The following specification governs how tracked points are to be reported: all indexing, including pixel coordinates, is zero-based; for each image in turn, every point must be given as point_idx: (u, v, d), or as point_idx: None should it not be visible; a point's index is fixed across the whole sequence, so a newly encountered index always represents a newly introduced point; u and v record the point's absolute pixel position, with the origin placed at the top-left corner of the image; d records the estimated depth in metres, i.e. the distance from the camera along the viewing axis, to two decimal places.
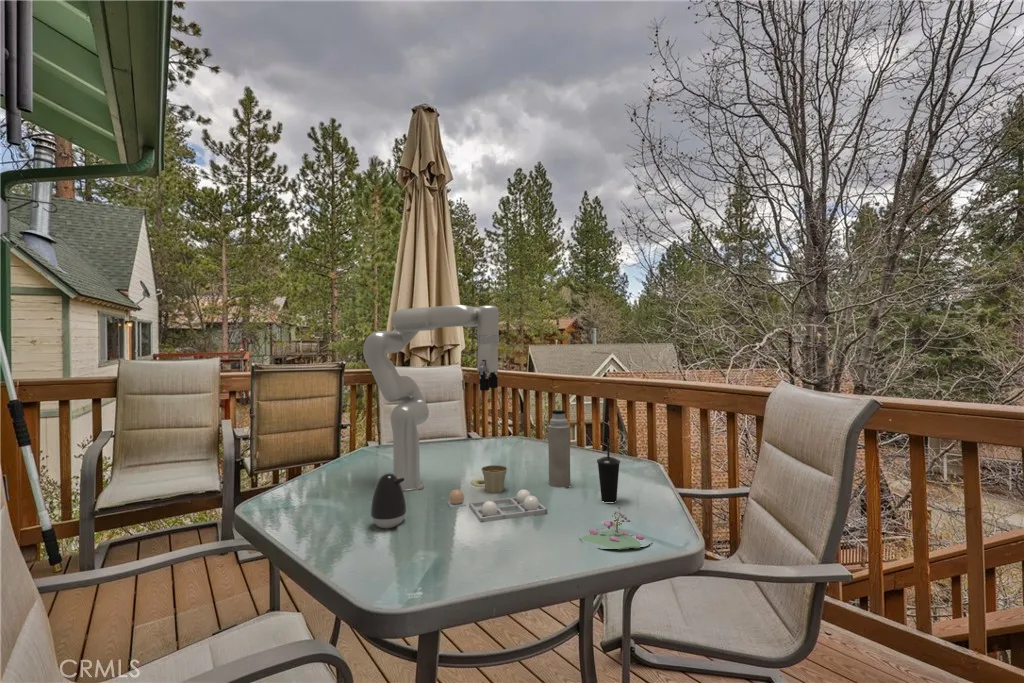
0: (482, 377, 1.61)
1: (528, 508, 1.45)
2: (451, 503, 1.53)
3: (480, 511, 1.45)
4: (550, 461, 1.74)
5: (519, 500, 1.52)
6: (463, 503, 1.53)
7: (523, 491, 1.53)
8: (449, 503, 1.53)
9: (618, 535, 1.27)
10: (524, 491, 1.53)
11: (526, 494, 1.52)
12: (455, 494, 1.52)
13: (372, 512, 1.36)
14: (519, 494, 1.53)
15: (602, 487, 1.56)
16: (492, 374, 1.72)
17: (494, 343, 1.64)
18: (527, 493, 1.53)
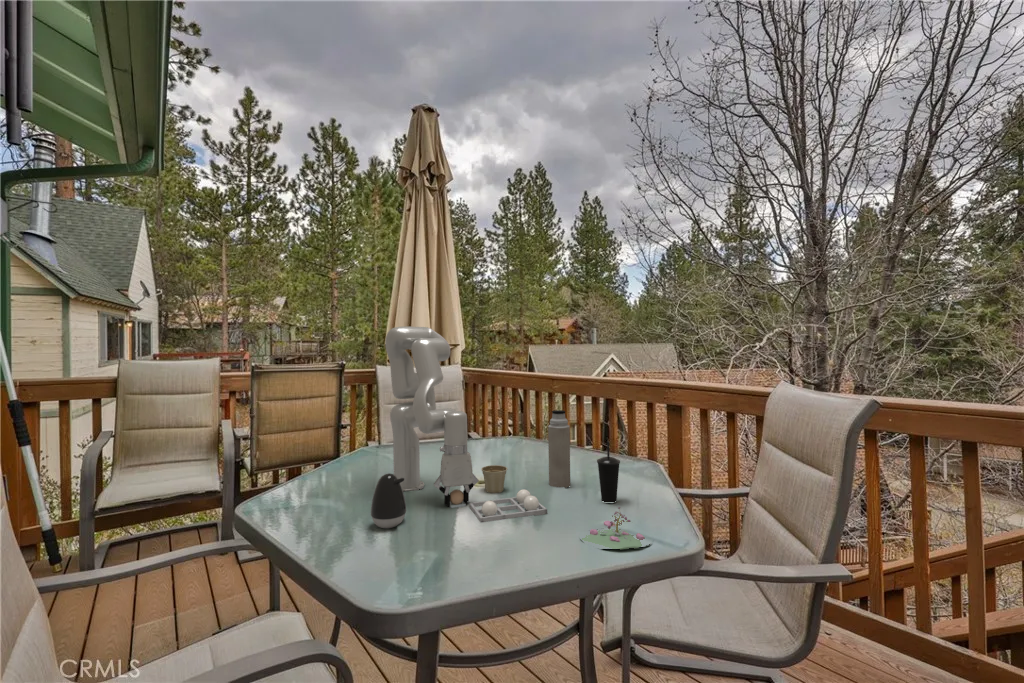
0: None
1: (528, 508, 1.45)
2: (451, 503, 1.53)
3: (480, 511, 1.45)
4: (550, 461, 1.74)
5: (519, 500, 1.52)
6: (463, 503, 1.53)
7: (523, 491, 1.53)
8: None
9: (618, 535, 1.27)
10: (524, 491, 1.53)
11: (526, 494, 1.52)
12: (455, 494, 1.52)
13: (372, 512, 1.36)
14: (519, 494, 1.53)
15: (602, 487, 1.56)
16: None
17: None
18: (527, 493, 1.53)
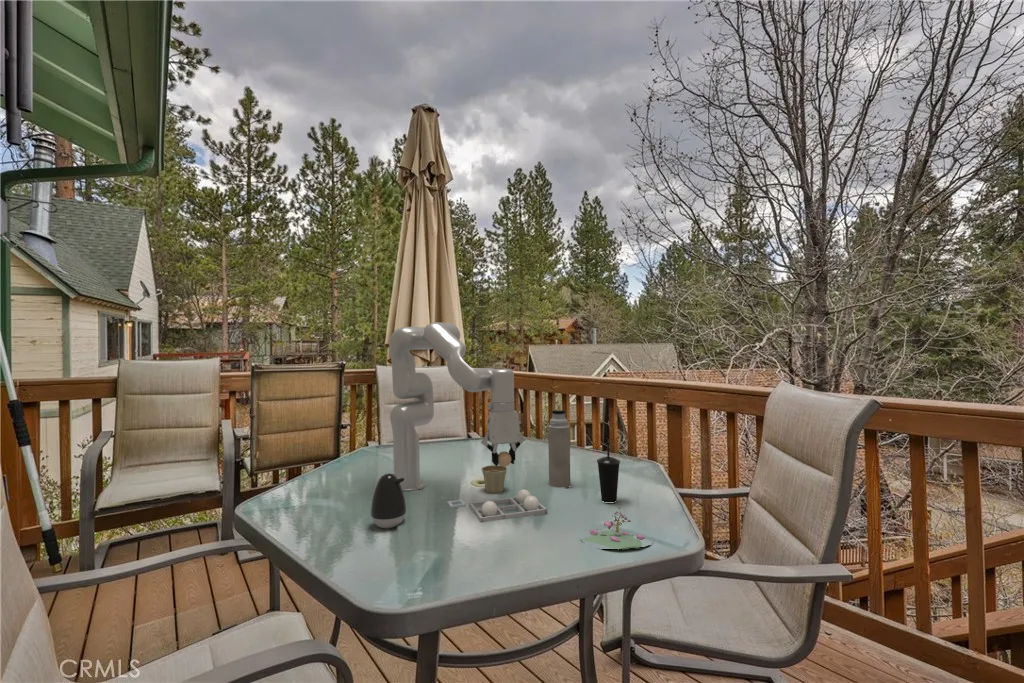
0: None
1: (528, 508, 1.45)
2: (451, 503, 1.53)
3: (480, 511, 1.45)
4: (550, 461, 1.74)
5: (519, 500, 1.52)
6: (463, 503, 1.53)
7: (523, 491, 1.53)
8: (449, 503, 1.53)
9: (619, 535, 1.27)
10: (524, 491, 1.53)
11: (526, 494, 1.52)
12: (503, 456, 1.49)
13: (372, 512, 1.36)
14: (519, 494, 1.53)
15: (602, 487, 1.56)
16: None
17: None
18: (527, 493, 1.53)
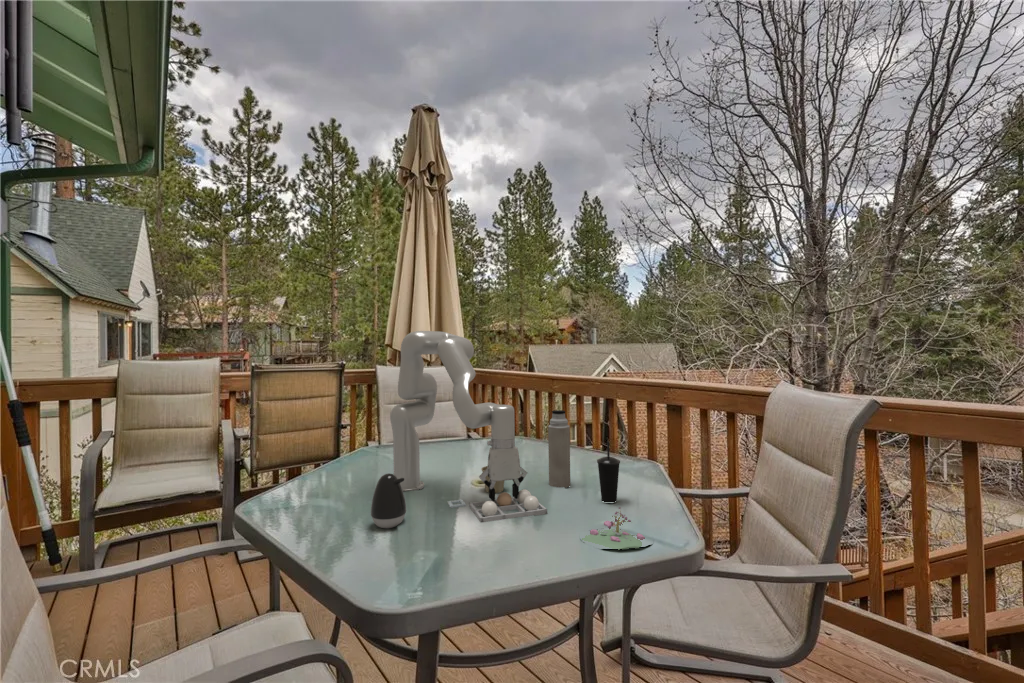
0: None
1: (528, 508, 1.45)
2: (451, 503, 1.53)
3: (480, 511, 1.45)
4: (550, 461, 1.74)
5: (519, 500, 1.52)
6: (463, 503, 1.53)
7: (524, 491, 1.53)
8: (449, 503, 1.53)
9: (619, 535, 1.27)
10: (525, 491, 1.53)
11: (527, 494, 1.52)
12: (503, 497, 1.49)
13: (372, 512, 1.36)
14: (520, 494, 1.53)
15: (602, 487, 1.56)
16: None
17: None
18: (528, 493, 1.53)
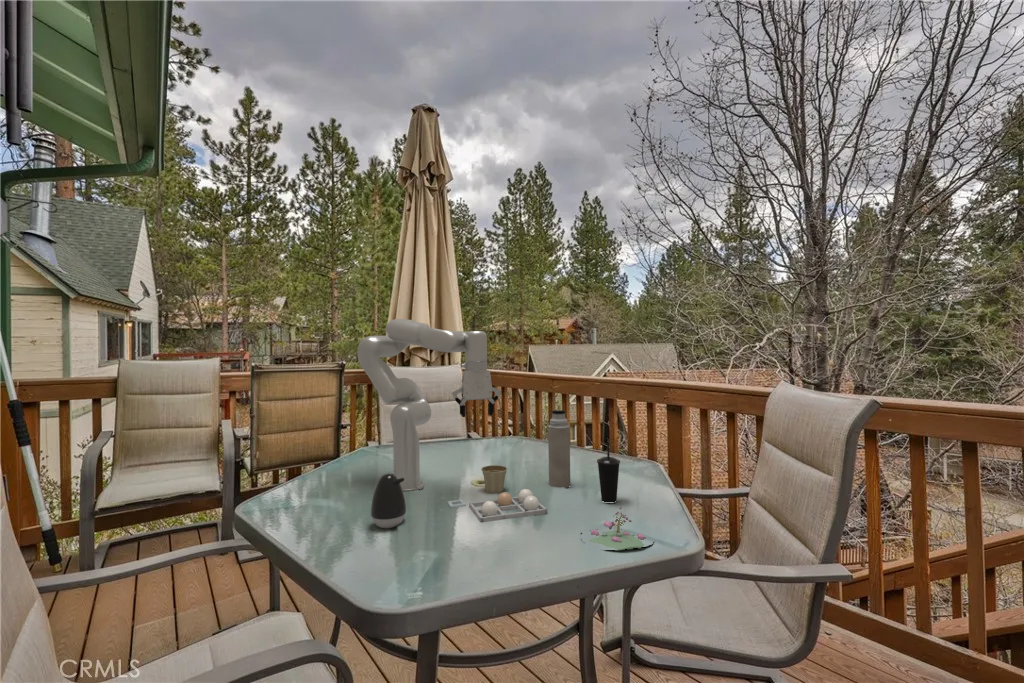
0: None
1: (528, 508, 1.45)
2: (451, 503, 1.53)
3: (480, 511, 1.45)
4: (550, 461, 1.74)
5: (521, 497, 1.53)
6: (463, 503, 1.53)
7: (526, 490, 1.54)
8: (449, 503, 1.53)
9: (620, 535, 1.27)
10: (527, 490, 1.54)
11: (529, 493, 1.53)
12: (504, 497, 1.49)
13: (372, 512, 1.36)
14: (522, 491, 1.53)
15: (602, 487, 1.56)
16: None
17: None
18: (530, 493, 1.53)
